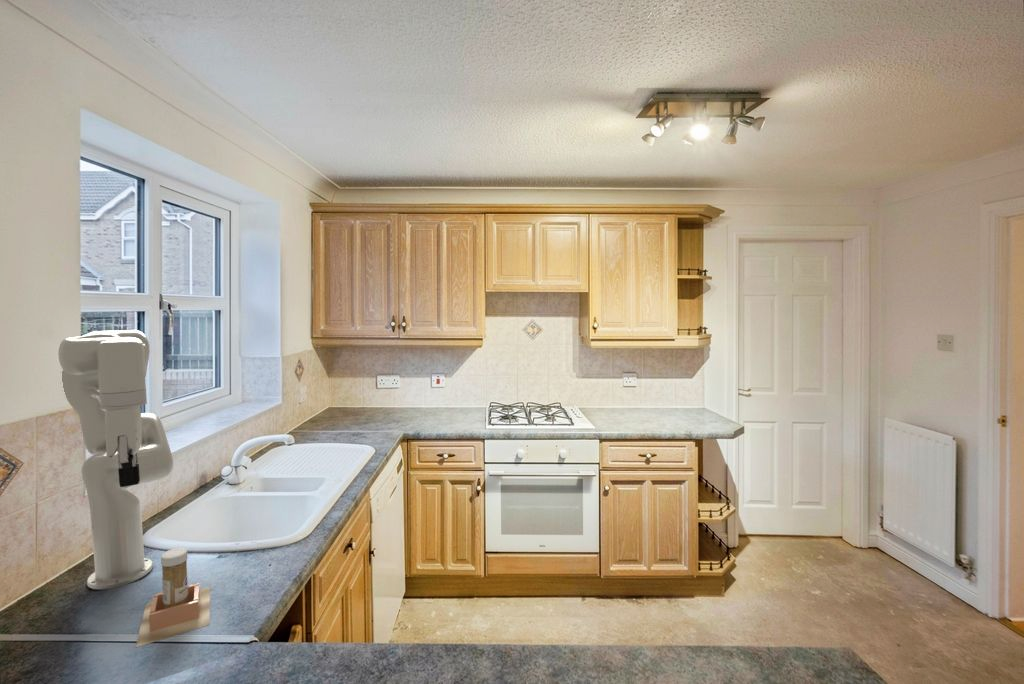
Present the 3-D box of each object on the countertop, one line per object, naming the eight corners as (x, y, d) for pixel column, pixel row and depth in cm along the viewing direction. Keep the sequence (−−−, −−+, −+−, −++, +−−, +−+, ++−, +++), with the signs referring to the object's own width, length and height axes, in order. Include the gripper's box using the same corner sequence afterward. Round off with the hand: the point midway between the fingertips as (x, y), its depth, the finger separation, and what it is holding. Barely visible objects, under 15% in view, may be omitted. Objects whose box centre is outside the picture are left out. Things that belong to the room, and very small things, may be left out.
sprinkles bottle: (188, 615, 101) (187, 554, 100) (161, 622, 98) (160, 560, 97) (188, 603, 105) (187, 544, 104) (163, 610, 102) (161, 550, 101)
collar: (154, 610, 103) (153, 594, 102) (200, 597, 107) (199, 582, 107) (150, 631, 96) (149, 615, 95) (199, 617, 100) (198, 601, 100)
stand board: (146, 608, 105) (146, 603, 105) (210, 591, 111) (210, 586, 111) (136, 653, 92) (135, 647, 91) (209, 630, 98) (209, 624, 98)
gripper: (107, 395, 104) (113, 477, 105) (92, 407, 91) (99, 500, 92) (150, 391, 108) (155, 471, 109) (141, 402, 95) (147, 492, 96)
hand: (130, 484), depth 101 cm, fingers closed
